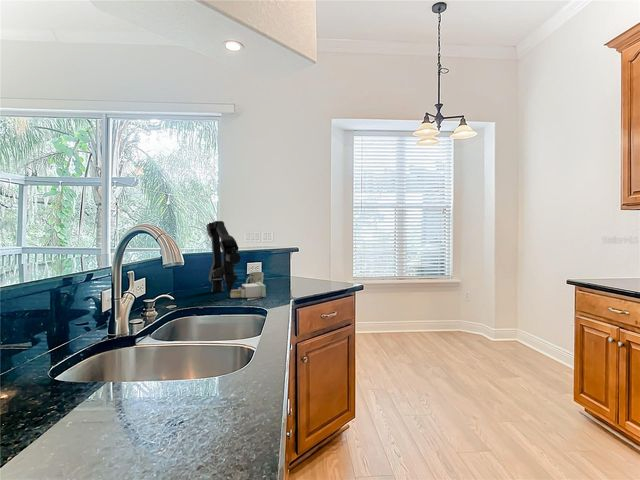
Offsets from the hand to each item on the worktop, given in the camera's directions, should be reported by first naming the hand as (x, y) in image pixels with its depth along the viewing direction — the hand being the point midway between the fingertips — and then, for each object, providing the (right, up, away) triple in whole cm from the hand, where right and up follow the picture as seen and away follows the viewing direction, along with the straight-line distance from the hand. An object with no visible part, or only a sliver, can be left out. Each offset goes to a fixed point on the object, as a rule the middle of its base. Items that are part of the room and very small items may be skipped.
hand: (228, 292), depth 194 cm
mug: (+10, -2, +21) cm, 23 cm away
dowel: (+7, -3, +2) cm, 8 cm away
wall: (+16, -2, +7) cm, 17 cm away
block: (+10, -2, +4) cm, 11 cm away
